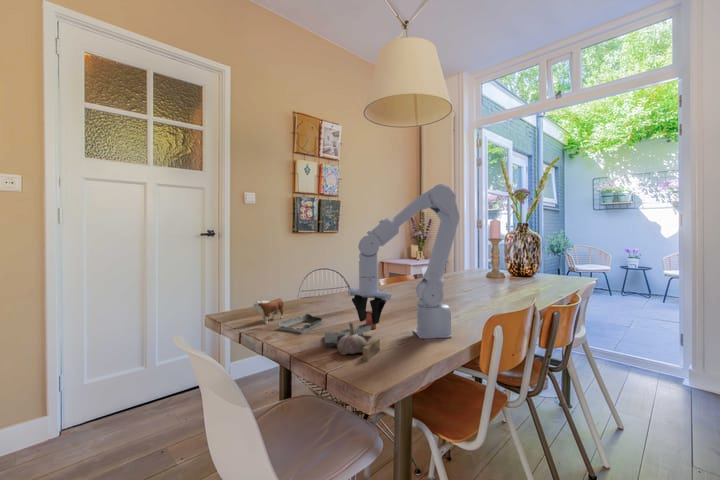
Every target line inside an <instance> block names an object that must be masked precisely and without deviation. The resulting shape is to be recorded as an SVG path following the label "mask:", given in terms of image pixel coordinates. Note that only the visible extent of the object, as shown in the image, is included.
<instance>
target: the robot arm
mask: <svg viewBox="0 0 720 480" xmlns="http://www.w3.org/2000/svg"><path fill="white" fill-rule="evenodd" d="M456 197H457V196H456V194H455V192H454V191H453V190H452V189H451V187H450V186H448V185H447V184H445V183H439V184H436V185H435V186H433V187H432V188H430V189H429V190H427V191H425V192H424V193H422V194H420V195H419V196H417V197H416V198H415V199H413V200H412V201H410V203H409V204H407V205H406V206H405V207H404V208H403V209H402V210H401V211H400V212H399V213H397V214H396V215H395V216H394V217H393V218H390V217H387V218H385V219H381V220H380V221H378V222H379V224H377V225H376V226H375V227H374V228H373V229H371V231H370V230H368V231H367V232H366V234H367V235H365V236H363V237H362V238H361V239H360V240H359V243H358V245H357V247H358V250H359V251H360V252H359V255H358V258H359V260H358V288H349V289H348V290H347V291H348V292H347V293H348V294H347V295H348V296H349V297H351V296H353V297H352V298H351V302H352V303H353V305H354V307H355V309H356V313H357V315H358V320H359V322H364V321H366V311H367V303H368V300H369V299H371V300H369V304H370V308H371V311H372V321H373V324H376V325H377V324H379V323H380V319H381V315H382V312H383V310H384V306H385V305H386V303H387V302H388V301H391V300H392V293H391V292H386V291H382V290H379V260H378V252H379V250H380V247H384V246H385V245H386V244H387V243H389V242H390V241H391V240H392V239H394V237H396V236H397V235H398V234H399V232H400V226H402V225H403V224H404V223H406V222H407V221H408V220H409V219H411V218H412V217H413V216H414V215H416V214H417V213H418V212H420V211H422V210H427V209H431V210H432V211H433V212H434V213H435V215H437V217H438V218H439V220H440V221H439V224H438V225H439V226H438V228H437V233H436V236H435V239H434V244H433V247H432V250H431V253H430V257H429V261H428V264H427V266H426V267H427V268H426V270H425V272H424V274H423V275H422V278H421V281H420V282H419V283H418V284H417V286H416V287H415V289H416V295H417V297H418V298H419V299H418V301H417V302H416V309H417V310H416V315H417V316H416V320H417V321H416V323H417V324H416V327H417V328H414V329H412V331H413V332H414V334H415V335H416V336H417V337H418V338H419V339H421V340H422V339H439V338H440V339H441V338H443V339H444V338H445V339H446V338H452V337H453V336H452V312H451V308H450V306H449V305H448V304H445V303H444V304H443V303H442V302H443V299H444V289H443V288H444V284H445V283H444V282H445V279H444V274H445V271H446V267H447V263H448V261H449V260H448V259H449V256H450V252H451V249H452V247H453V242H454V240H455V239H454V238H455V236H456V232H457V228H458V225H459V221H460V212H459V209H458V206H457V202H456Z"/></svg>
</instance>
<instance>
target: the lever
mask: <svg viewBox="0 0 720 480" xmlns="http://www.w3.org/2000/svg"><path fill="white" fill-rule="evenodd" d="M353 328H354V332H355V334H357V335H358V334H361V333H363V334H365V333H367V332H369V331H370V332H371V331H375V330H377V324H373V321H372V310H366V319H365V324H360V325H357V326H355V327H354V326H353ZM331 333H332V334H330V342H332V343H335V344H338V341H339V340H340V339H341V338H342V337H343V336H345V335H350V328H344V329H340V330H339V331H338V332H337V331H335V333H333V332H331Z"/></svg>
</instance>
